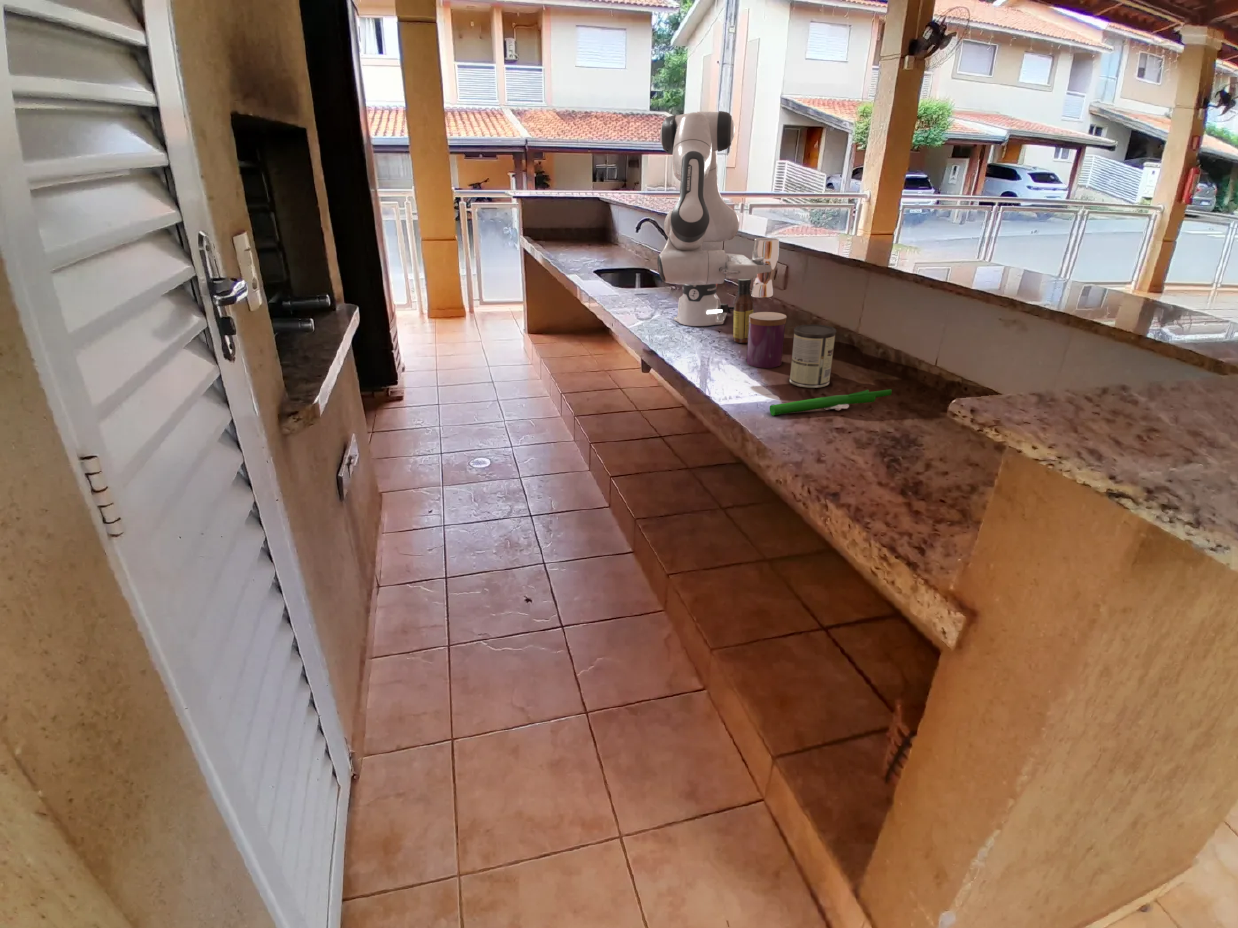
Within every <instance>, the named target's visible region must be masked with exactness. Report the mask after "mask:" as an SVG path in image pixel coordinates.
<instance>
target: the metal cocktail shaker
mask: <svg viewBox="0 0 1238 928" xmlns="http://www.w3.org/2000/svg"><path fill="white" fill-rule="evenodd" d="M779 254H780V238H776V237H756V238H754V240H753V246H752V255H751V256H752V257H751V260H752V262H754V263H755V264H757V265H771V272H764V273H759V274H757V278H755V279H752V281H753V282H752V289H751V291H750V294H751V296H752V298H758V299H769V298H773V297H774V279H775V275H776V270H777V266H778V263H779Z"/></svg>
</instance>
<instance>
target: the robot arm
mask: <svg viewBox="0 0 1238 928" xmlns="http://www.w3.org/2000/svg"><path fill="white" fill-rule="evenodd" d="M735 131H736V129H735V123H734V120H733V117H732V115H731V113H730V112H728V111H722V110H719V111H696V112H689V113H683V114H678V115H676V114H673V115H669V116H667V117H665V118H664V120H663V121H662V124H661V126H660V132H659V140H660V143H661V146H662V149H663V150H664V152H666V154H669V155H672V171H673V176H674V177H675V179H677V181H679V182H680V185H679V196H678V199H677V201H676V203H675V205H674V206H673V208H672V209H671V210H670V211H668V213H667V215H666V216H665V218H664V222H663V229H664V232H665V235H666V236H667V240H666V243H665V245H664V247H663V249H662V250H661V252H660V253H659V254H658V255H657V260H656V261H657V271H658V275H659V278H660V280H662V282H663V283H666V284H671V285H682V287H681V289H682V295H681V296H680V297H679V298H678V304H677V316H675V317H673V321H675V322H677V323H679V324H680V325H683V326H689V327H690V326H691V327H708V326H714V325H715V326H716V325H723V324H724V323H725V320H726V318H727V313H731V310H734V306H729V303H722V301H721V299H720V297H719V296H718V295H717V290H718V289H717V288H718V285H723V284H724V283H725V280H729V279H730V280H731V279H732V280H738V279H751V280H753V279H755V278H757V274H759V273H764V272H771V265H757V264H755V263H754V262H752V259H751V258H749V257H747V256H746V255H744V254H738V253H726V251H725V250H724V249H710V250H709V249H708V250H707V249H706V250H704V249H703V244H704V243H721V242H725V241H730V240H733V239H734V238H735V237H736V236H737V234H738V232H739V230H740V217H739V215H738V214H737V212H736V211H735V210H734V209H733V208H731V207H730V206H729V205H728V204H727V203H726V202H725V200H724V199H723V197H722V194H721V192H720V189H719V177H718V152H723V151H726V150H727V149H729V148H730V146H731V145H732V142H733V140H734V138H735V133H736V132H735Z"/></svg>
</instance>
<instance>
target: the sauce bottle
mask: <svg viewBox="0 0 1238 928" xmlns="http://www.w3.org/2000/svg"><path fill="white" fill-rule="evenodd" d="M751 284H752V279H737V295H736V296H735V297H734V300H733V307H734V309H733V323H732V324H733V326H732V327H733V330H732V331H733V332H732V333H733V334H732V336H733V342H735V343H737V344H748V331H749V321H748V320H749V315H750V314H752V313H754V297H752V296H751Z"/></svg>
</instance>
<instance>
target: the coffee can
mask: <svg viewBox="0 0 1238 928" xmlns="http://www.w3.org/2000/svg"><path fill="white" fill-rule="evenodd" d="M836 333H837V329H836V328H835V327H832V326H829V325H825V324H824V325H823V324H814V323H813V324H801V325H797V326H795V327H794V328H793V340H792V341H793V343H792V352H791V363H790V375H789V383H790V384H792V385H793V386H797V387H800V388H806V389H807V388H808V389H815V388H816V389H817V388H820V389H821V388H824V387H827V386H829V385H830V379H831V371H832V363H833V356H834V348H835V340H836Z"/></svg>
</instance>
